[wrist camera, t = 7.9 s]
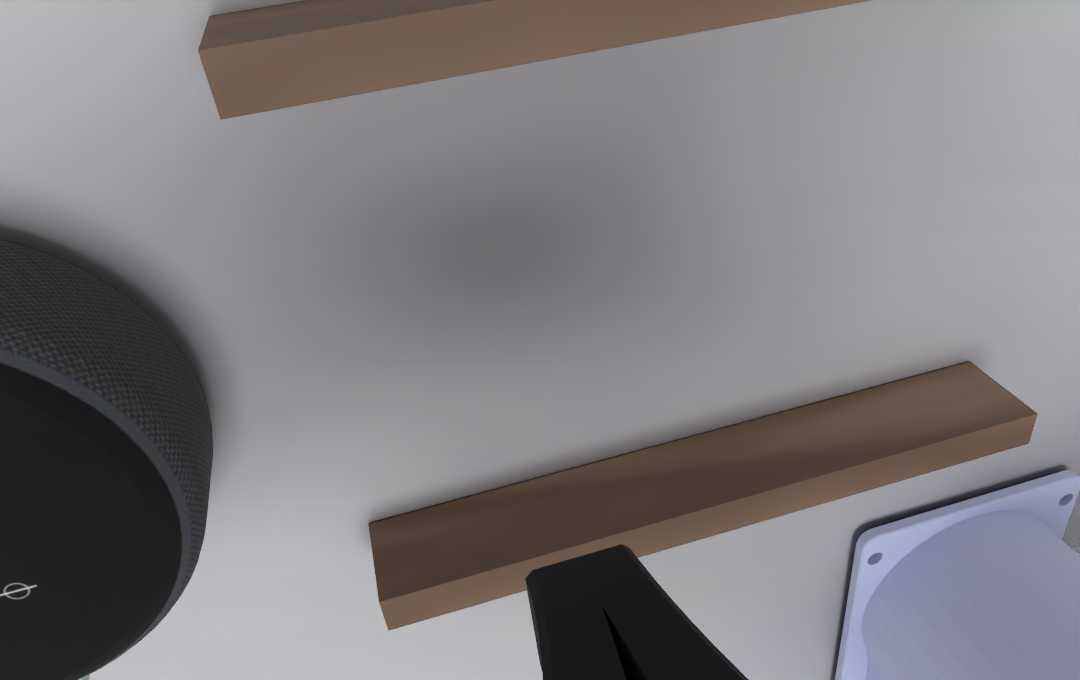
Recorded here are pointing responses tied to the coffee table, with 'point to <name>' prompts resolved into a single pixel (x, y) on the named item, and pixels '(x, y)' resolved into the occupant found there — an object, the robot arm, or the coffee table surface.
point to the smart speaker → (91, 470)
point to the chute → (632, 479)
